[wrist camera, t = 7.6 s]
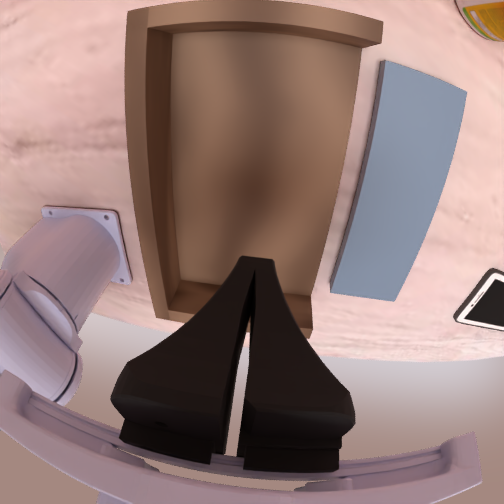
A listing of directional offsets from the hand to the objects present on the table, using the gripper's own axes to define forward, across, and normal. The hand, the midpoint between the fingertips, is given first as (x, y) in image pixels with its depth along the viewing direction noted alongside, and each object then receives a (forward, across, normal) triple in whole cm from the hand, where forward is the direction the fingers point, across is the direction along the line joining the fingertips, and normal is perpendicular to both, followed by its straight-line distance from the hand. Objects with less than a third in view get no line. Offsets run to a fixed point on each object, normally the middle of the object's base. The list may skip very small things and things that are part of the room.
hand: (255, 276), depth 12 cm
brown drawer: (+9, +2, -1) cm, 10 cm away
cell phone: (+10, -30, +9) cm, 33 cm away
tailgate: (+9, -6, -1) cm, 11 cm away
